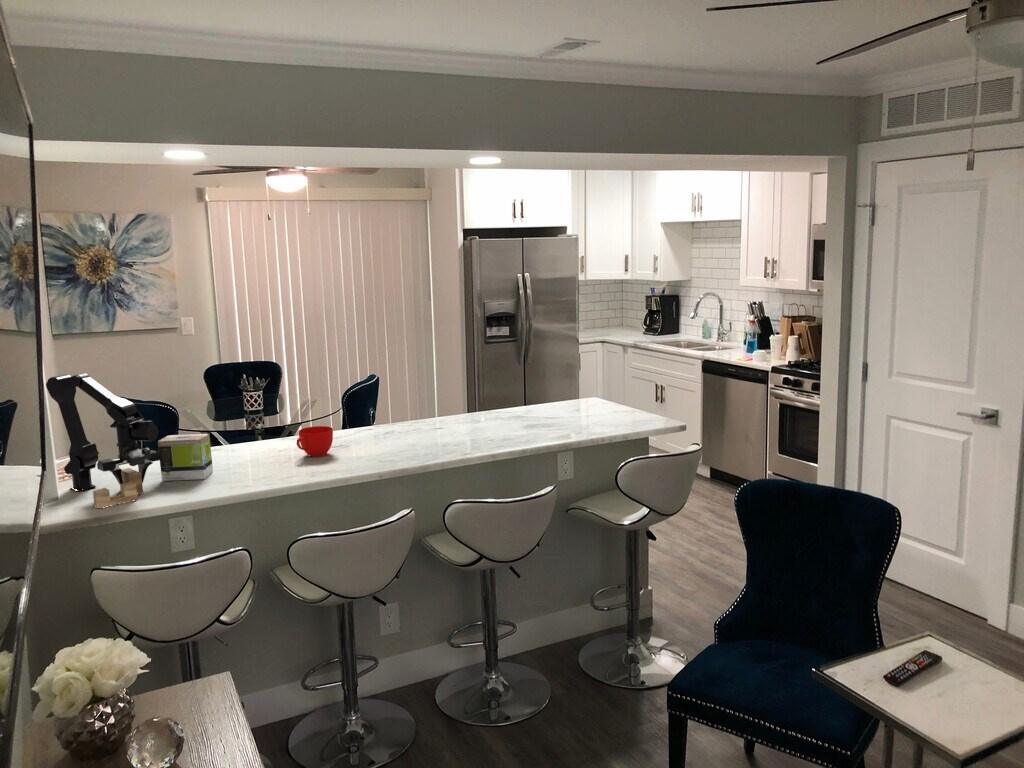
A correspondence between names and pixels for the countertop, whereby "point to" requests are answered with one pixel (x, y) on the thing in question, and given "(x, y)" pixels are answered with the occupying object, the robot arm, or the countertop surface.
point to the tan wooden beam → (132, 478)
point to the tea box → (185, 457)
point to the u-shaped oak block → (104, 498)
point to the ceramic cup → (315, 440)
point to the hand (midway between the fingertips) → (132, 485)
